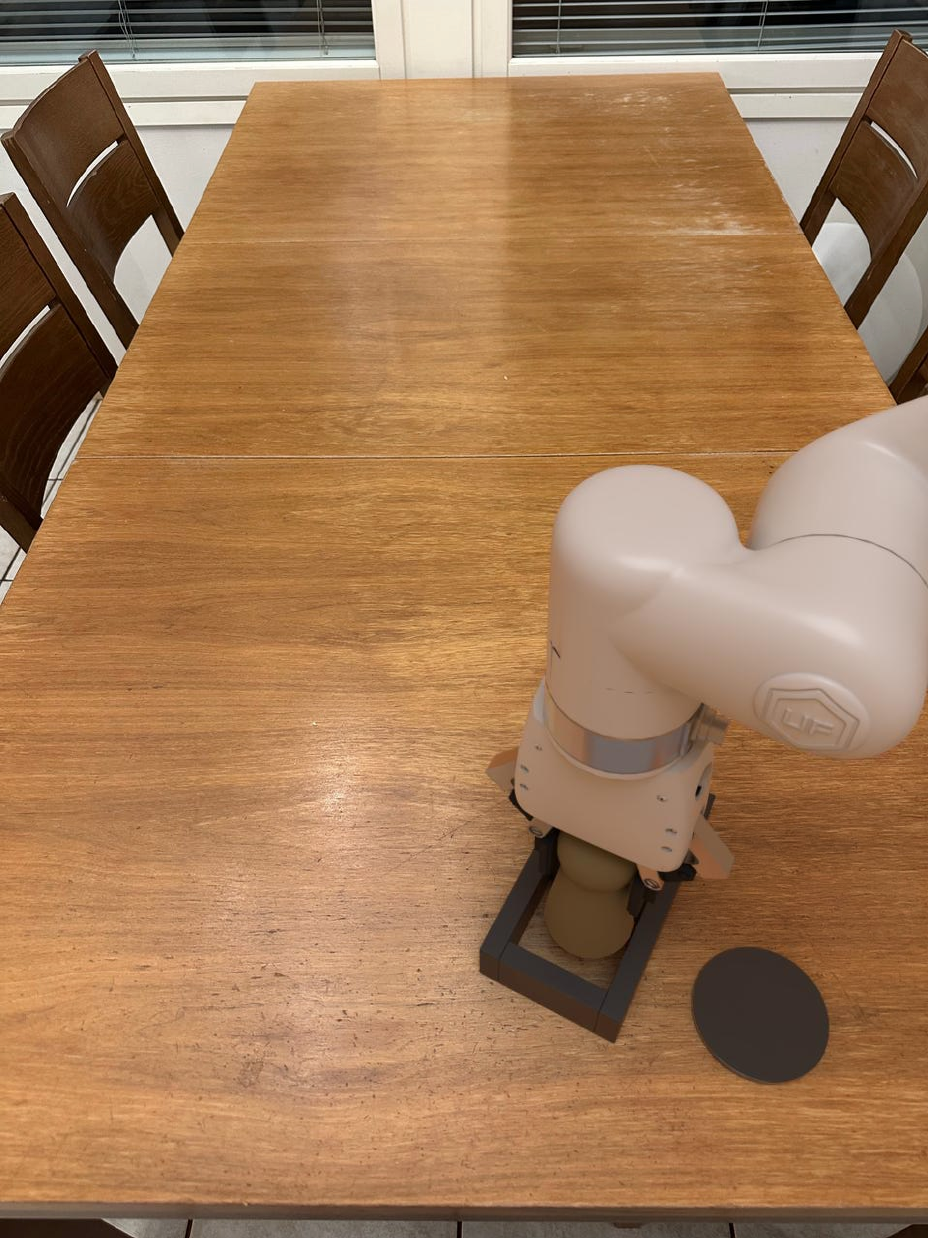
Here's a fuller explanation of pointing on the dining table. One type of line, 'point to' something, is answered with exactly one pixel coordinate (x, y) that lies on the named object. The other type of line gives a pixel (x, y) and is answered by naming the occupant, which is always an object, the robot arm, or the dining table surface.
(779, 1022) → the coaster
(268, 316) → the dining table surface
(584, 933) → the cork
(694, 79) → the dining table surface
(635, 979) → the holder
